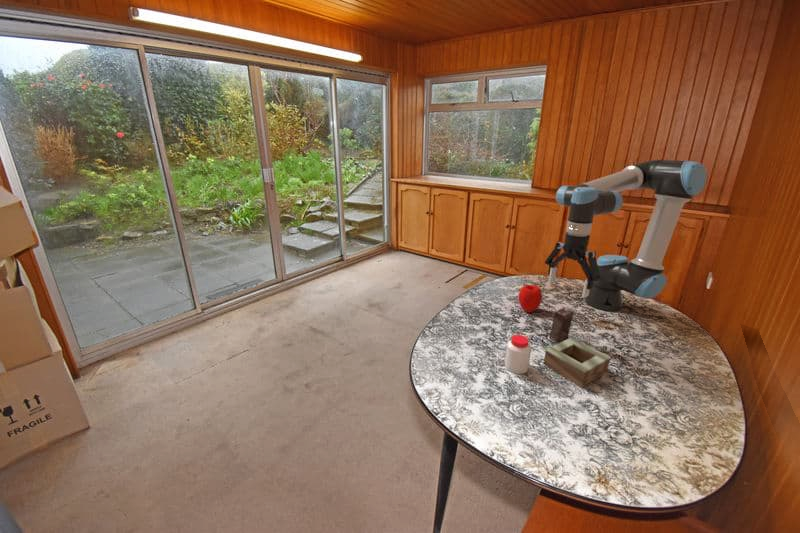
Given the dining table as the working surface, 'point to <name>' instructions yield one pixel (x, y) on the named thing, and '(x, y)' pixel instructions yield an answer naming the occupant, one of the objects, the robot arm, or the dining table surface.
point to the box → (561, 325)
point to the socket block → (576, 361)
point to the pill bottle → (518, 354)
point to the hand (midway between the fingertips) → (567, 289)
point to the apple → (530, 297)
